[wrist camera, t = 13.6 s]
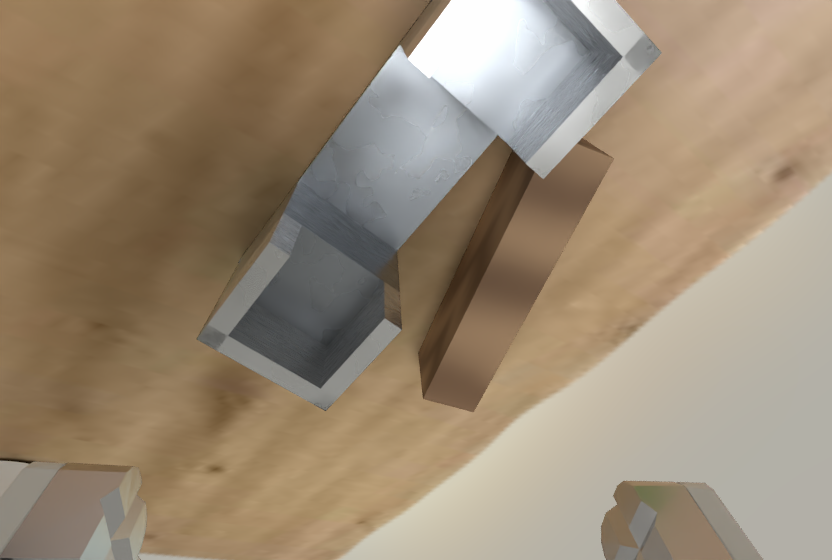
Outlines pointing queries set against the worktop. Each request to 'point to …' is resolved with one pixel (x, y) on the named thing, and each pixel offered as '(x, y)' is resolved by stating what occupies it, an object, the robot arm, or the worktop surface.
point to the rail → (505, 272)
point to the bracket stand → (414, 175)
